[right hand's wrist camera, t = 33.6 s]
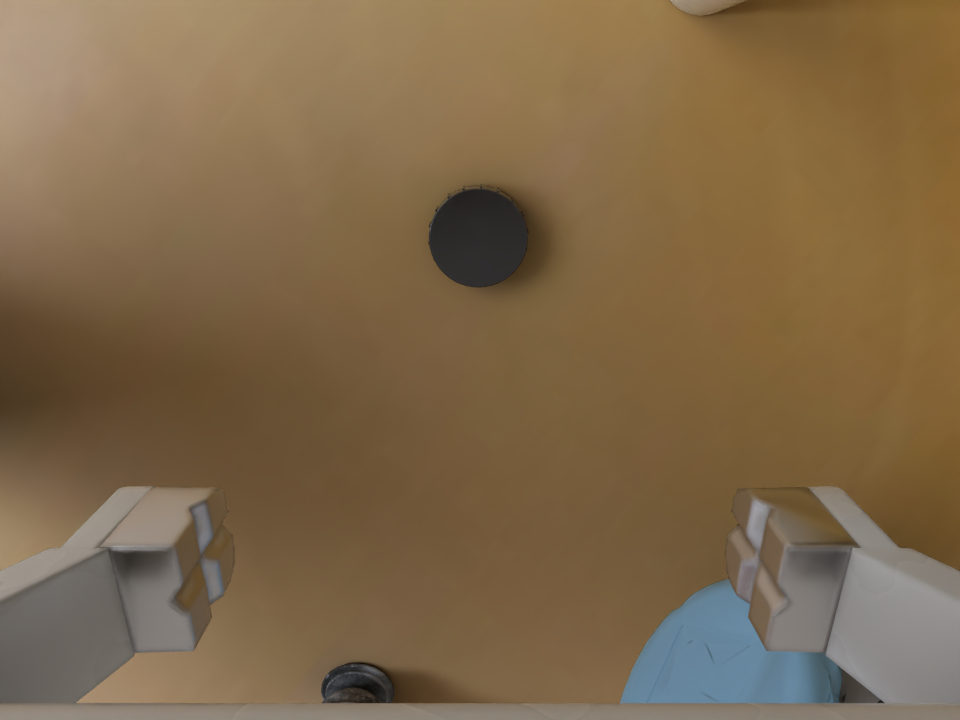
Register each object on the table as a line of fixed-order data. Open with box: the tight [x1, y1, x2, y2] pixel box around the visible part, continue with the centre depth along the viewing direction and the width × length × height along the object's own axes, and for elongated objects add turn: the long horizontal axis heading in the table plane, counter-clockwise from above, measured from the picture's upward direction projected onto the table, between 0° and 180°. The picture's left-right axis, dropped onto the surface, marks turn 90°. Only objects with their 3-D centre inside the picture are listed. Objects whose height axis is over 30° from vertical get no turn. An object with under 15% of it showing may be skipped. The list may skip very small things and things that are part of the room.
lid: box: [429, 184, 528, 287], centre depth 34 cm, size 5×5×2 cm
